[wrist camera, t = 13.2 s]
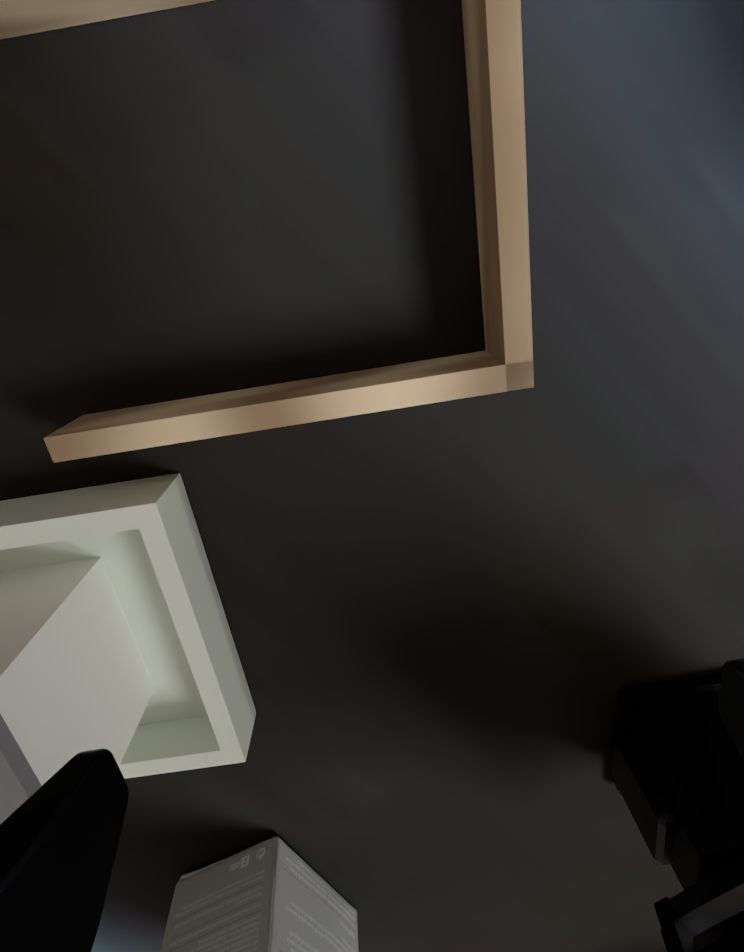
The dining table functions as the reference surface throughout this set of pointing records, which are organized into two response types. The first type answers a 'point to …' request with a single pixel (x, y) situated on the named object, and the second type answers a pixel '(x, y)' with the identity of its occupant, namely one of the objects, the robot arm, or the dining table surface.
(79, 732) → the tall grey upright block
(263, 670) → the dining table surface
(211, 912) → the skincare box
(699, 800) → the robot arm
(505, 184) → the frame
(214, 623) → the tray
